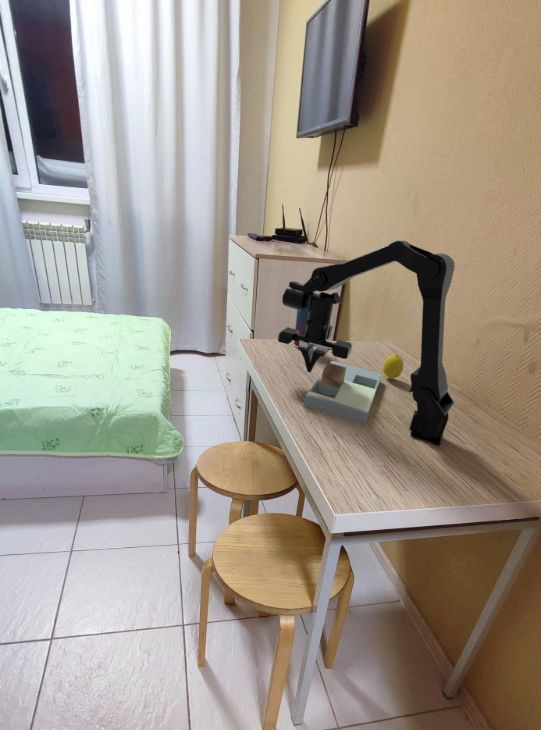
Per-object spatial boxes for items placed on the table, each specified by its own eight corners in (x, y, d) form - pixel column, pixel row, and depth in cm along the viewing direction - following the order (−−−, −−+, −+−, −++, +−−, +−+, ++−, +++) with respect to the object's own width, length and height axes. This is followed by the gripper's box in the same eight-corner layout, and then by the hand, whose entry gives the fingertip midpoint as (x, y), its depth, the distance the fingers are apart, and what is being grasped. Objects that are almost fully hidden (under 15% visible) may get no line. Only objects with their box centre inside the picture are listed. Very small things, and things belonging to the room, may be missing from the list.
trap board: (379, 381, 111) (382, 372, 110) (364, 424, 88) (367, 413, 86) (330, 368, 115) (332, 359, 114) (303, 405, 92) (305, 394, 91)
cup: (287, 342, 131) (294, 300, 125) (304, 342, 134) (311, 300, 128) (297, 350, 126) (304, 306, 120) (314, 349, 129) (322, 306, 123)
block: (343, 380, 102) (346, 367, 101) (339, 388, 98) (342, 374, 96) (325, 375, 104) (328, 362, 102) (320, 382, 99) (323, 368, 98)
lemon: (396, 376, 116) (403, 352, 113) (400, 384, 111) (408, 359, 108) (379, 373, 116) (385, 349, 113) (382, 381, 111) (389, 356, 108)
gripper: (361, 317, 100) (349, 370, 106) (295, 302, 106) (287, 354, 112) (353, 328, 91) (340, 385, 97) (281, 311, 96) (273, 366, 103)
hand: (309, 371), depth 102 cm, fingers closed
